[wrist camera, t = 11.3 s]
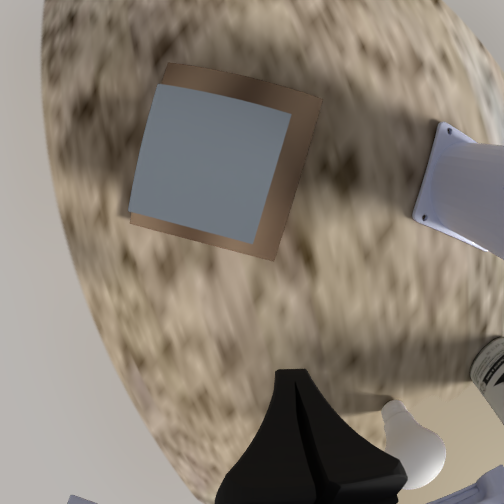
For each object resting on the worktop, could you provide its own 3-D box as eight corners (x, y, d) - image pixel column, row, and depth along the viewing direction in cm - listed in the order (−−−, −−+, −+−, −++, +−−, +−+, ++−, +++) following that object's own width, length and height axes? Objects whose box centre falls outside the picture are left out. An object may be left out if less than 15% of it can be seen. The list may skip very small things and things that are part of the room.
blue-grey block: (278, 126, 17) (291, 114, 11) (253, 212, 19) (252, 244, 13) (189, 104, 17) (157, 83, 11) (167, 189, 19) (128, 211, 12)
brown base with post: (319, 101, 18) (345, 84, 12) (272, 255, 21) (279, 294, 16) (172, 66, 17) (143, 39, 11) (136, 219, 20) (97, 245, 15)
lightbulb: (412, 410, 27) (446, 483, 17) (362, 427, 28) (387, 506, 17) (417, 375, 25) (463, 454, 15) (362, 393, 26) (395, 483, 16)
